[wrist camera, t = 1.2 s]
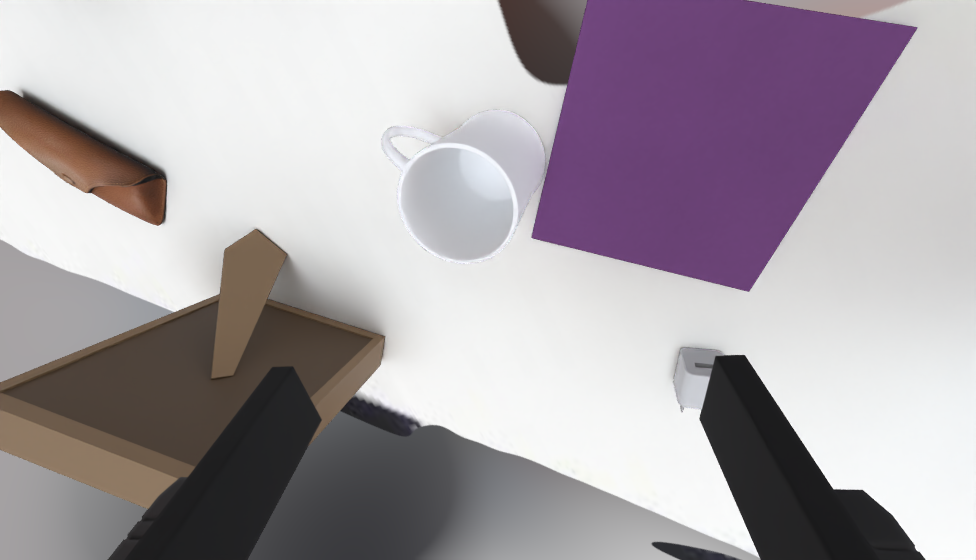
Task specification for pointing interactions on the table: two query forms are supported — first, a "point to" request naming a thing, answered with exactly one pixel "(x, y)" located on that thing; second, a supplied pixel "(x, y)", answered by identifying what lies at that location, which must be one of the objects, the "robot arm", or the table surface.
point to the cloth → (704, 129)
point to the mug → (468, 184)
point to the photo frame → (179, 382)
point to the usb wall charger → (693, 376)
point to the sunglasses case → (84, 159)
